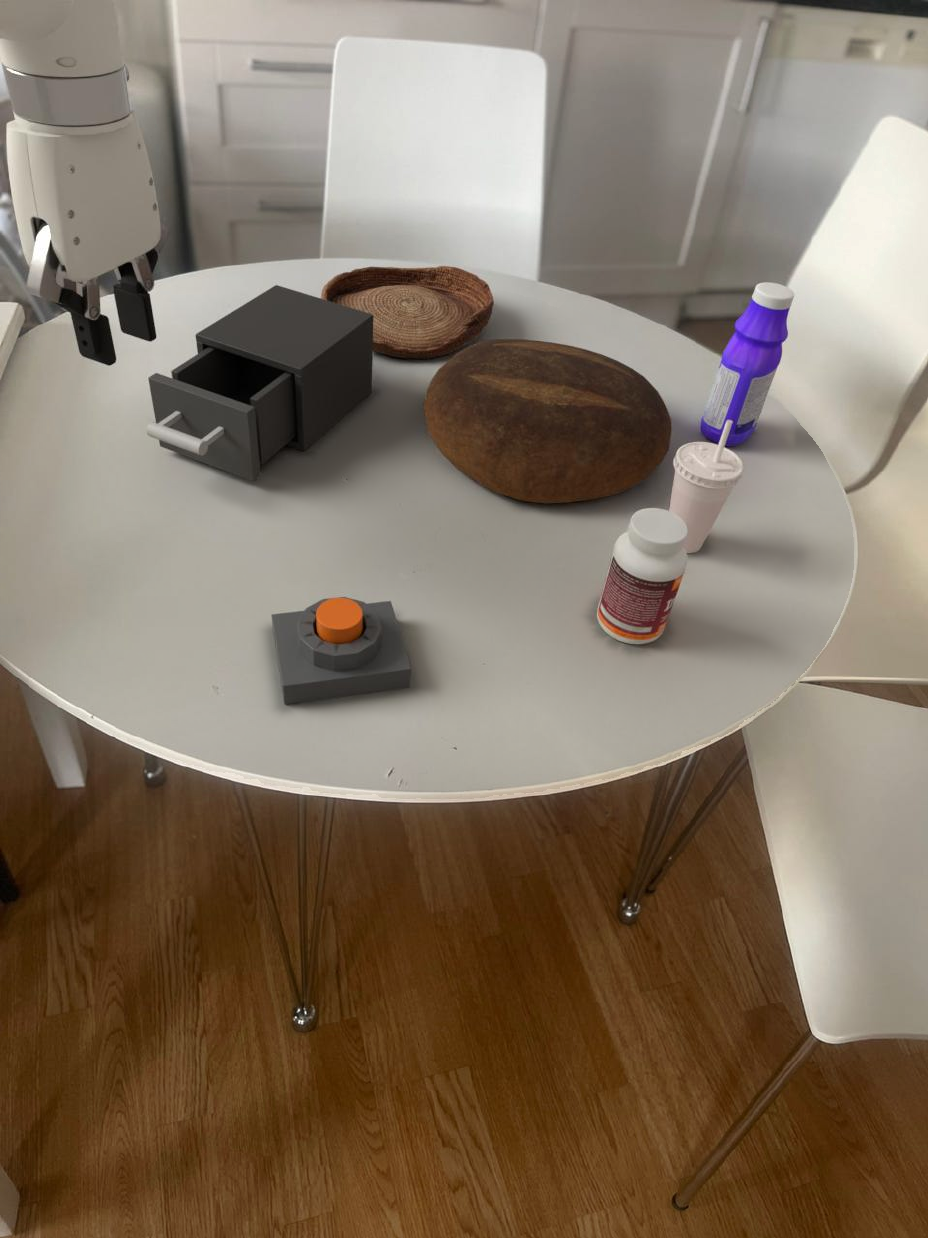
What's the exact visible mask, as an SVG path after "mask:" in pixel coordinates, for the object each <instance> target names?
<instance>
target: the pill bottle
mask: <svg viewBox="0 0 928 1238" xmlns="http://www.w3.org/2000/svg"><path fill="white" fill-rule="evenodd" d="M687 533H688V528H687V525H686V524H685V522H684V521H683V520H682V519H681V518H680V517H679V516H677V515H676V514H674V513H672V512H670V511H669V510H667V509H663V508H658V507H647V508H641V509H639V510H637V511H636V512H634V513H633V514H632V516H631V517H630V521H629V523H628V526H627V530H626V531H624V532H622V534H621V535H619V537H618V538H617V540H616V541H615V543H614V546H613V549H612V553H611V557H610V560H609V564H608V568H607V572H606V575H605V579H604V583H603V586H602V589H601V594H600V597H599V601H598V604H597V610H596V618H597V621H598V624H599V626H600V627H601V629H602V630H603V631H604V632H605V633H606V634H608V636H610V637H611V638H613V639H614V640H617V641H619V642H622V643H625V644H630V645H644V644H649V643H652V642H654V641H656V640H657V639H658V638H660V637H661V636H662V634H663V633H664V631H665V628H666V626H667V624H668V621H669V618H670V614H671V613H672V612H671V611H672V608H673V606H674V603H675V600H676V597H677V595H678V592H679V589H680V586H681V583H682V580H683V578H684V574H685V571H686V570H687V569H686V568H687V566H688V553H686V550H685V548H684V547H683V546H684V545H685V540H686V537H687Z"/></svg>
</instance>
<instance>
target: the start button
mask: <svg viewBox="0 0 928 1238" xmlns="http://www.w3.org/2000/svg"><path fill="white" fill-rule="evenodd" d="M332 598H333V599H329V598H328V599H329V600H327V601H325V602H323V603H322V604H321V605H320V606H319V607H318V609H317V612H316V621H317V633H318V635H319V636H320V638H321V639H323V640H324V641H326V642H328V643H332V644H336V645H338V644H346V643H351V642H353V641H355V640H357V639H358V638H359V637H360V635H361V633H362V629H363V612H362V609H361V607H360V606H359V605H358V604H357V603H356V602H354V601H353V600H350V599H347V598H348V597H347V598H338V597H332Z"/></svg>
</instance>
